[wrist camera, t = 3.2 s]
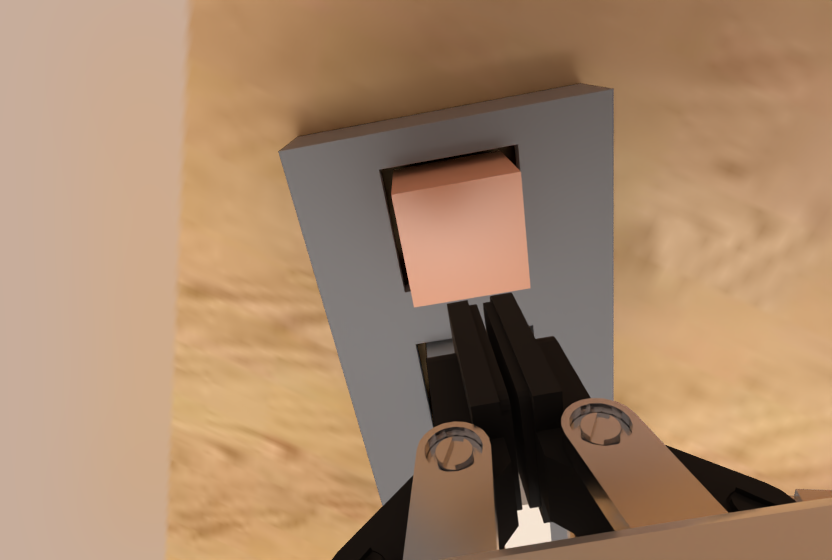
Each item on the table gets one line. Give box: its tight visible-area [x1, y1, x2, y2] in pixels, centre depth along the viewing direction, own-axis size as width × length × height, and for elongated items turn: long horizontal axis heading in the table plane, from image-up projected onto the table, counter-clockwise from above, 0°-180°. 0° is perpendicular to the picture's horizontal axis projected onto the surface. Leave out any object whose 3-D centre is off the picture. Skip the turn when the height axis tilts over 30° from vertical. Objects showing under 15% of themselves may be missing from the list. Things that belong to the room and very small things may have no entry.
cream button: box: [505, 476, 551, 549], centre depth 29 cm, size 5×5×4 cm
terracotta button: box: [391, 151, 530, 307], centre depth 21 cm, size 5×5×4 cm
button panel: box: [278, 83, 614, 541], centre depth 27 cm, size 14×27×4 cm, turn 10°
